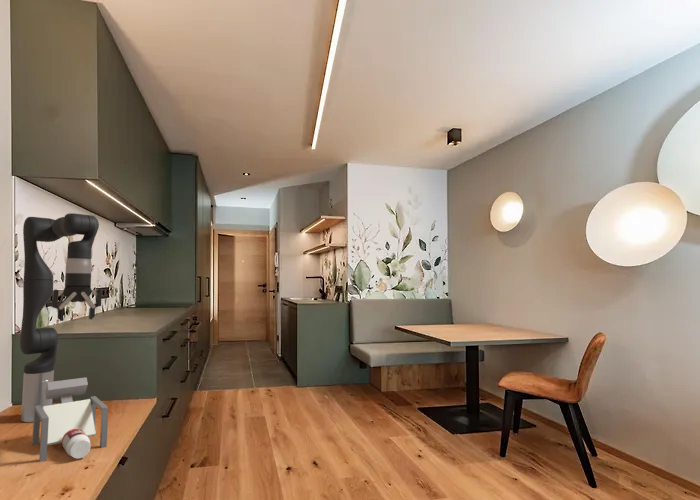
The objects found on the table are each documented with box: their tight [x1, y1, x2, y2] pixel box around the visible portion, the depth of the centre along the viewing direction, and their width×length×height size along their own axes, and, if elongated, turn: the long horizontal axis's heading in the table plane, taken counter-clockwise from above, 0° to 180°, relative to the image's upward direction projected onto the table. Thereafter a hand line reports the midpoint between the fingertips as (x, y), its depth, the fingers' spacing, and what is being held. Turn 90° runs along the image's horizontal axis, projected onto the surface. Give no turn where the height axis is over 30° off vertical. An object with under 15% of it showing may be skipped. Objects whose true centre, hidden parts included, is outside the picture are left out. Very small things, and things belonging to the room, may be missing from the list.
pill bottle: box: [61, 428, 91, 459], centre depth 130 cm, size 6×6×11 cm
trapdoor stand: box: [31, 395, 109, 463], centre depth 136 cm, size 17×17×12 cm
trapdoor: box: [43, 377, 97, 446], centre depth 138 cm, size 19×13×5 cm
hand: (76, 320), depth 147 cm, fingers open, 8 cm apart
